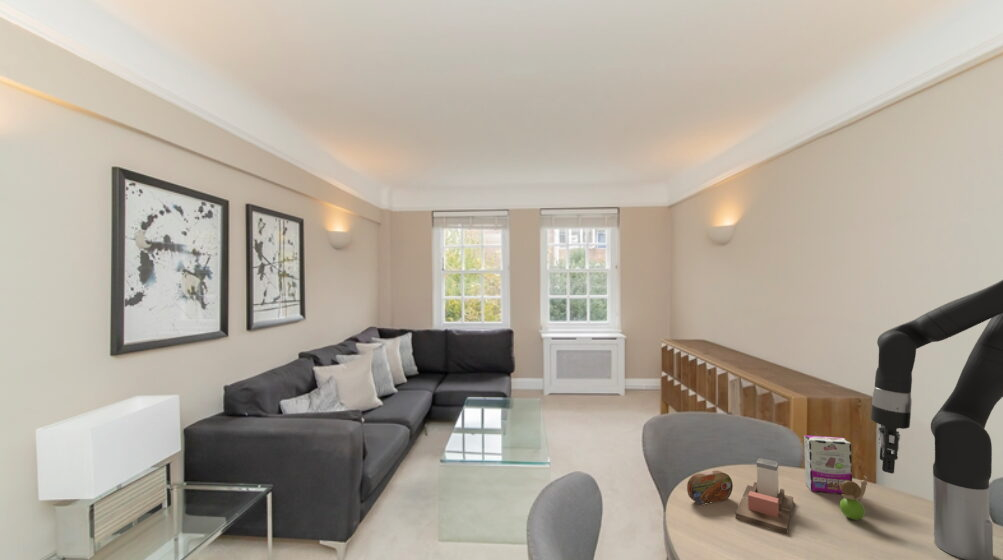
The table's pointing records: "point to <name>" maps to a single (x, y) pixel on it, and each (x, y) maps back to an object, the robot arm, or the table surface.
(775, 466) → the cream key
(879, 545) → the table surface
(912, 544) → the table surface
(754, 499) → the pad
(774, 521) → the wooden holder base
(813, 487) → the candy bar box
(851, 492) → the snail figurine
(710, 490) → the tin
